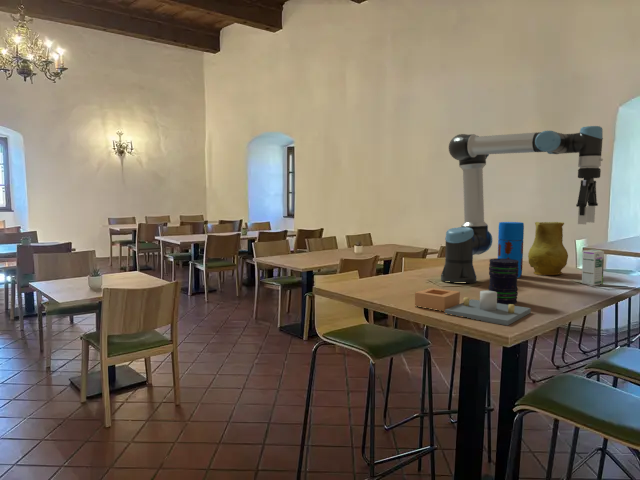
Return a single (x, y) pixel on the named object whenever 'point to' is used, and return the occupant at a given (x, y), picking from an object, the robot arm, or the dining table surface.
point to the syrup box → (592, 267)
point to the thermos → (511, 242)
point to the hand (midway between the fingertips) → (586, 223)
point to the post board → (489, 315)
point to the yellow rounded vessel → (548, 249)
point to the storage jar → (504, 280)
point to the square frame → (437, 298)
